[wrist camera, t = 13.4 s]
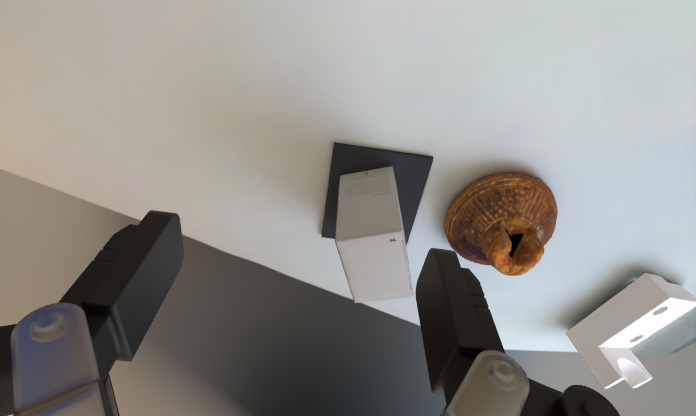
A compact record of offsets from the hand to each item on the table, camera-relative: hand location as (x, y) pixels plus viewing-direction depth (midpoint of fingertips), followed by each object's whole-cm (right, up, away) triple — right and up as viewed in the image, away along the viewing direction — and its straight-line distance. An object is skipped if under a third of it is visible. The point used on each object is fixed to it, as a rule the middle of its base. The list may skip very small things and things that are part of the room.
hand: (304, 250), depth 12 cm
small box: (+4, +2, +28) cm, 29 cm away
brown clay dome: (+18, +1, +29) cm, 35 cm away
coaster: (+4, +2, +29) cm, 29 cm away
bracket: (+38, -12, +38) cm, 55 cm away
